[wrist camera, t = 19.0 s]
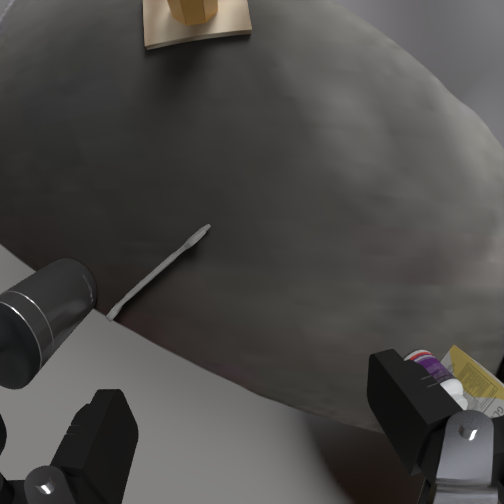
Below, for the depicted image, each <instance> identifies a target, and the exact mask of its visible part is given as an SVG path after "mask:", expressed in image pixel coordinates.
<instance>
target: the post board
mask: <svg viewBox="0 0 504 504" xmlns="http://www.w3.org/2000/svg"><path fill="white" fill-rule="evenodd" d="M143 18H144V40H145V47H146V49H147V50H150V49H154V48H159V47H163V46H168V45H173V44H179V43H184V42H190V41H196V40H202V39H209V38H217V37H225V36H234V35H244V34H251V31H252V28H251V22H250V16H249V10H248V4H247V0H218V12H217V13H216V14H215V15H214V16H213V17H212V18H210V19H209V20H208V21H207V22H206V23H202V24H195V25H188V26H186V25H185V24H183V23H181V22H179V21H178V20H176V19H174V18H173V16H172V13H171V11H170V8H169V5H168V2H167V0H143Z"/></svg>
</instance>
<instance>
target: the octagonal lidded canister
mask: <svg viewBox="0 0 504 504" xmlns="http://www.w3.org/2000/svg"><path fill="white" fill-rule="evenodd" d="M167 2H168V5H169V8H170V11H171V13H172V16H173V18H174V19H176V20H178V21H179V22H181V23H183V24H185V25H186V26H188V25H195V24H202V23H206V22H207V21H208V20H209V19H210V18H212V17H213V16H214V15H215V14H216V13H217V12H218V0H167Z"/></svg>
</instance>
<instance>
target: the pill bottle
mask: <svg viewBox="0 0 504 504" xmlns="http://www.w3.org/2000/svg"><path fill="white" fill-rule="evenodd" d="M408 359H411V360H413V361H415V362H417V363H419V364H421V365H423V366H424V368H425V369H426V370H427V371H428V372H429V373H430V374H431V377H432V376H433V377H434V378H435V379H436V380H437V381H438V384H440V385H441V386H442V387H443V388H444V389H445V390H446V391H447V392H448V393H449V394H450V396H451V397H452V398H453V399H454V400H455V401H456V402H457V403H458V404H459V405H460V407H461V408H462V409H463V410H466V408H467V405H468V402H467V400H466V399H465V398H464V397H463V396H462V395H463V386H462V384H461V382H460V381H459V380H458V379H457V378H456V377H455V376H454V375H453V374H452V373H451V372H449V371H448V370H447V369H446V368H445V367H444V366H443V365H442V364H441V363H440V362H439V361H438V360H437V359H436V358H435V357H434V356H433V355H432V354H431V353H430V352H428V351H426V350H418V351H415V352H413V353H411V354H409V355H408V356H407V357H406V358H405V359H404V361H405V360H408Z"/></svg>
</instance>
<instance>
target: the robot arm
mask: <svg viewBox="0 0 504 504" xmlns="http://www.w3.org/2000/svg"><path fill="white" fill-rule="evenodd" d="M96 299H97V289H96V284H95V281H94V278H93V277H92V275H91V273H90V272H89V271H88V269H87V268H86V267H85V266H84V265H82V264H81V263H80V262H78V261H76V260H73V259H70V258H63V259H59V260H57V261H55V262H53V263H51V264H49V265H48V266H46V267H44V268H42V269H41V270H39V271H37V272H36V273H34V274H32V275H31V276H29V277H28V278H26V279H24V280H22V281H21V282H19V283H17V284H16V285H14V286H13V287H11V288H9V289H8V290H6V291H5V292H3V293H2V294H0V385H1V386H3V387H5V388H8V389H21V388H23V387H25V386H26V385H28V384H29V383H30V381H31V380H32V379H33V378H34V377H35V375H36V374H37V373H38V372H39V371H40V369H41V368H42V367H43V366H44V365H45V363H46V362H47V361H48V360H49V358H50V357H51V356H52V355H53V354H54V352H55V351H56V350H57V349H58V348H59V347H60V345H61V344H62V343H63V342H64V341H65V340H66V338H67V337H68V336H69V335H70V334H71V333H72V332H73V330H74V329H75V328H76V327H77V326H78V325H79V324H80V322H82V320H83V319H84V318H85V317H86V316H87V315H88V314H89V312H90V311H91V310H92V309H93V308H94V306H95V303H96ZM367 399H368V403H369V406H370V408H371V410H372V411H373V413H374V415H375V417H376V418H377V420H378V422H379V423H380V425H381V427H382V429H383V430H384V432H385V434H386V435H387V437H388V439H389V441H390V442H391V444H392V446H393V448H394V449H395V451H396V453H397V454H398V456H399V458H400V460H401V462H402V463H403V465H404V467H405V469H406V470H407V472H408V474H409V476H413V475H416V474H418V473H420V472H423V474H424V476H425V477H426V478H425V480H424V483H423V487H422V490H421V493H420V497H419V500H418V503H417V504H497V500H498V499H499V500H500V502H501V503H502V504H504V415H503V416H499V417H495V418H489V417H488V416H487V415H486V414H484V413H482V412H480V411H476V410H463V409H462V408H461V407H460V405H459V404H458V403H457V402H456V401H455V400H454V399H453V398H452V397H451V396H450V394H449V393H448V392H447V391H446V390H445V389H444V388H443V387H442V386H441V385H440V384H438V381H437V380H436V379H435V378H434V377H433V376H432V377H431V374H430V373H429V372H428V371H427V370H426V369H425V368H424V366H423V365H421V364H419V363H417V362H415V361H413V360H411V359H408V360H405V361H404V360H403V359H402V357H401V356H400V355H399V354H398V353H397V352H396V351H395V350H394V349H389V350H386V351H382V352H378V353H374V354H371V355H370V357H369V368H368V382H367ZM66 433H67V434H66V435H65V436H64V438H63V440H62V441H61V444H60V445H59V447H58V449H57V451H56V454H55V455H54V458H53V459H52V462H51V464H50V465H49V466H41V467H38V468H36V469H34V470H32V471H31V472H30V473H29V474H28V476H27V477H26V479H25V480H10V481H9V480H8V481H7V480H6V479H5V478H4V476H3V475H2V474H1V473H0V504H121V503H122V500H123V495H124V491H125V487H126V483H127V479H128V476H129V472H130V468H131V464H132V460H133V456H134V453H135V449H136V445H137V442H138V426H137V423H136V421H135V419H134V416H133V414H132V412H131V410H130V408H129V405H128V403H127V401H126V398H125V396H124V394H123V392H122V391H121V390H120V389H102V390H101V389H100V390H97V392H96V393H95V396H94V397H93V399H92V401H91V403H90V404H86V405H85V406H84V407H82V408H81V409H80V410H79V411H78V412H77V413H76V415H75V417H74V419H73V420H72V422H71V426H69V428H68V430H67V432H66ZM6 438H7V432H6V427H5V424H4V421H3V419H2V417H1V414H0V455H1V453H2V451H3V449H4V447H5V443H6Z"/></svg>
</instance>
